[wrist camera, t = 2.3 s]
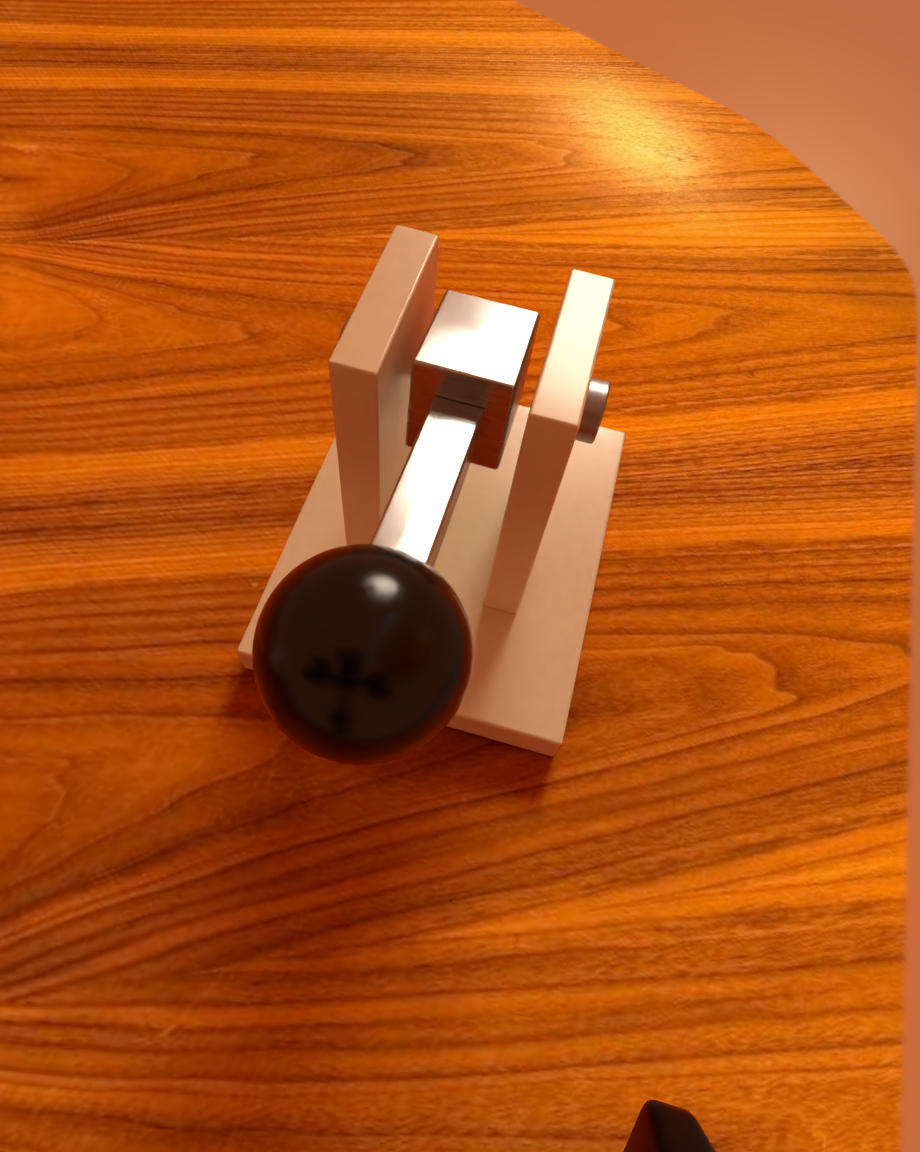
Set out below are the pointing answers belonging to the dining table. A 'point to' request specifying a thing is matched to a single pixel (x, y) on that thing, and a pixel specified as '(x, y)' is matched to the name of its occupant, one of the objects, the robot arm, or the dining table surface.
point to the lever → (398, 562)
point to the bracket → (479, 494)
